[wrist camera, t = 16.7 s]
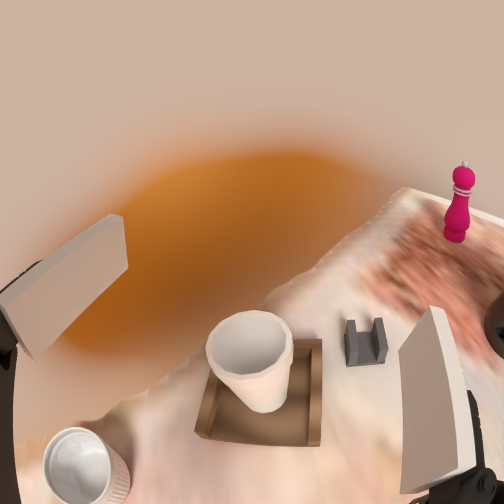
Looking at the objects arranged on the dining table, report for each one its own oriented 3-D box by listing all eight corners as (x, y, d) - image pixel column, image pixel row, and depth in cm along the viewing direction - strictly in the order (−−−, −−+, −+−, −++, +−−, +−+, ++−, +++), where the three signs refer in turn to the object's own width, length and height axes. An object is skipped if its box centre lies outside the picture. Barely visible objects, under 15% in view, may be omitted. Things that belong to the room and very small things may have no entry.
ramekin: (99, 428, 33) (74, 410, 29) (155, 475, 27) (128, 464, 23) (60, 476, 24) (31, 462, 20) (110, 530, 18) (78, 525, 14)
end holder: (223, 350, 45) (219, 339, 43) (321, 350, 41) (321, 339, 39) (201, 437, 32) (194, 431, 30) (319, 446, 28) (320, 440, 27)
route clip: (344, 336, 42) (345, 320, 40) (379, 333, 41) (383, 317, 39) (346, 366, 38) (349, 352, 35) (384, 363, 36) (389, 348, 34)
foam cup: (233, 426, 32) (203, 384, 25) (231, 372, 40) (206, 317, 33) (303, 416, 32) (299, 370, 25) (293, 362, 40) (285, 304, 32)
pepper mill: (454, 246, 54) (468, 167, 42) (436, 231, 59) (445, 156, 48) (470, 239, 54) (484, 165, 43) (453, 226, 60) (463, 155, 49)
